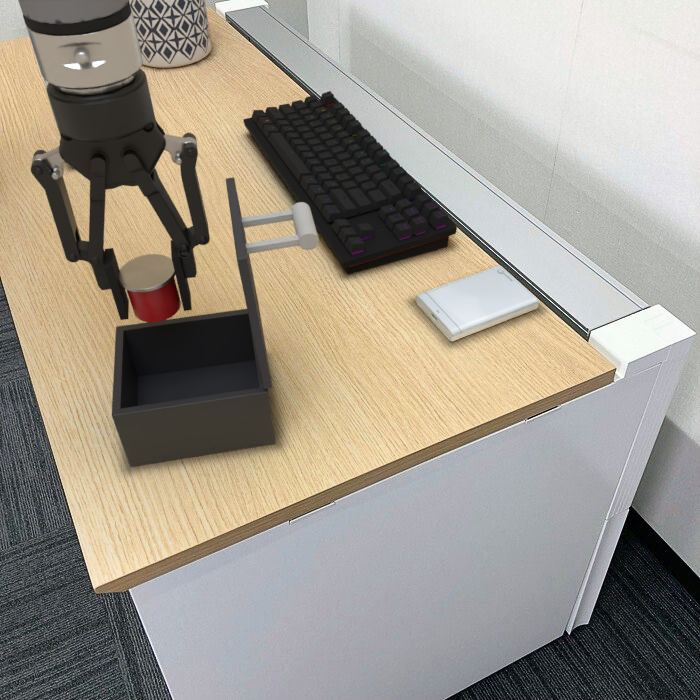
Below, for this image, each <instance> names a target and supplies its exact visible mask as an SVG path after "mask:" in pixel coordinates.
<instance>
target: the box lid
mask: <svg viewBox="0 0 700 700" xmlns="http://www.w3.org/2000/svg"><path fill="white" fill-rule="evenodd" d="M225 185H226V192H227V199H228V207H229V213H230V221H231V228H232V236H233V243H234V250H235V256H236V262H237V263H236V264H237V266H238V272H239V276H240V281H241V286H242V291H243V295H244V300H245V306H246V309H247V310H248V315H249V320H250V325H251V329H252V334H253V339H254V344H255V349H256V353H257V358H258V363H259V368H260V372H261V377H262V382H263V387H264V389H268V390H269V389H272V388H273V383H272V376H271V371H270V365H269V359H268V352H267V347H266V340H265V334H264V328H263V321H262V316H261V310H260V304H259V298H258V293H257V288H256V283H255V277H254V272H253V267H252V264H251V263H252V262H251V258H250V254H257V253H262V252H263V253H264V252H268V251H274V250H281V249H287V248H293V247H300V249H302V250H305V251H311V250H314V249H316V248H317V246H318V245H319V243H320V238H319V233H318V231H317V230H316V227H315V224H314V220H313V217H312V213H311V210H310V207H309V205H308V204H306V203H304V202H296V203H294V204H293V205H292V206H291V207H290V209H287V210H280V211H275V212H269V213H261V214H256V215H249V216H242V211H241V205H240V200H239V195H238V190H237V184H236V180H235V177H228V178H227V177H226V178H225ZM289 221H292V224H293V227H294V231H295V235H287V236H281V237H276V238H270V239H264V240H257V241H251V242H247V241H248V240H247V236H246V232H245V231H246V230H245V228H251V227H257V226H258V227H259V226H264V225H269V224H270V225H271V224H277V223H282V222H289Z"/></svg>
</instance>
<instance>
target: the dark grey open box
mask: <svg viewBox="0 0 700 700" xmlns="http://www.w3.org/2000/svg"><path fill="white" fill-rule="evenodd" d="M113 359H114V361H113V377H112V378H113V380H112V399H111V418H112V420H113V423H114V426H115V429H116V432H117V434H118V437H119V440H120V442H121V445H122V449H123V451H124V453H125V456H126V459H127V461H128V465H129V467H130V468H132V467H140V466H145V465H152V464H157V463H164V462H169V461H170V462H171V461H175V460H176V461H177V460H182V459H189V458H195V457H201V456H207V455H212V454H220V453H225V452H226V453H227V452H232V451H238V450H245V449H250V448H257V447H264V446H270V445H276V437H275V429H274V422H273V414H272V407H271V406H272V405H271V399H270V392H269V388H268V389H264V387H263V382H262V377H261V372H260V368H259V363H258V358H257V353H256V349H255V344H254V339H253V334H252V329H251V325H250V320H249V315H248V310H247V308H241V309H235V310H227V311H220V312H211V313H205V314H198V315H190V316H184V317H177V318H175V317H174V318H169V319H167V320H164V321H160V322H140V323H131V324H123V325H117V326H116V327H115V339H114V357H113Z"/></svg>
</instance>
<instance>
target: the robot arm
mask: <svg viewBox="0 0 700 700" xmlns="http://www.w3.org/2000/svg"><path fill="white" fill-rule="evenodd" d="M18 4H19V7H20V10H21V13H22V18H23V20H24V24H25V26H26V29H27V34H28V36H29V39H30V43H31V46H32V49H33V53H34V55H35V56H34V57H35V59H36V61H37V66H38V67H39V68H38V69H39V71H40V75H41V76H42V78H43V81H44V80H46V81H47V82H49V83H48V85H47V89H46V88H45V90H47V91H46V95H47V94H48V95H47V98H48V97H49V98H48V101H49V100H50V102H49V104H50V103H51V105H50V107H51V106H52V108H51V111H52V110H53V112H52V114H53V113H54V115H53V117H54V116H55V118H54V120H55V119H56V121H55V123H56V122H57V124H56V126H57V125H58V127H57V130H58V129H59V130H58V133H59V132H60V133H59V136H60V140H59V145H58V146H57V147H55V148H53V149H50V150H48V151H46V150H44V149H37V150H35V151H34V153H33V157H32V162H31V165H30V173H31V175H32V176H33V178H34V179H35V180H36V181H37V182H38V184H39V185H40V186H41V187H42V188H43V190H44V192H45V195H46V199H47V203H48V205H49V208H50V211H51V214H52V217H53V221H54V224H55V227H56V230H57V233H58V237H59V240H60V244H61V247H62V250H63V253H64V257H65V259H66V260H67V261H68V262H70V263H77V262H79V261H83V262H87V263H88V264H90V266H91V269H92V271H93V274H94V277H95V280H96V284H97V287H98V288H99V289H100V290H101V291H107V290H110V291H111V294H112V297H113V301H114V304H115V307H116V310H117V313H118V316H119V320H120V321H125V320H129V312H130V299H129V296H128V293H127V290H126V289H125V288H123V287H122V286H121V284H120V283H119V280H118V274H119V271H120V267H119V263H118V260H117V256H116V254H115V250H114V249H115V248H114V247H109V248H104V245H105V221H106V220H105V219H106V198H107V197H106V196H107V195H106V193H107V190H113V189H117V188H119V187H122V186H125V187H138V189H139V190H140V192H141V194H142V195H143V197H145V198H146V199H147V200H148V202H149V204H150V205H151V208H152V209H153V210H154V212H155V214H156V215H157V217H158V219H159V221H160V222H161V224H162V226H163V228H164V229H165V231H166V233H167V234H168V236H169V237H170V258H171V259H172V262H173V266H174V270H175V280H176V284H177V289H178V293H179V297H180V301H181V306H182V309H183V312H188V311H192V297H191V289H190V285H189V280H188V279H193V278H196V277H197V273H198V271H197V261H196V258H195V252H194V248H195V247H197V246H199V245H200V246H205V245H208V244H209V243H210V239H211V238H210V230H209V223H208V217H207V213H206V209H205V204H204V199H203V195H202V190H201V186H200V182H199V177H198V172H197V161H198V155H199V151H198V140H197V137H196V135H195V134H194V133H192V132H186V133H184V134H183V135H182V136H178V135H172V134H166V133H165V130H164V129H163V128H162V127H161V125H160V124H159V123H158V121H157V119H156V115H155V111H154V106H153V101H152V97H151V92H150V87H149V83H148V78H147V74H146V72H145V71H144V70H143V69H142V68H141V67H142V66H143V64H142V63H143V59H142V54H141V50H140V45H139V40H138V35H137V30H136V26H135V21H134V16H133V11H132V9H131V7H130V3H129V0H18ZM165 151H166V152H168V153H169V154H170V158H171V161H172V162H173V163H174V164H176V165H178V166H179V169H180V178H181V183H182V186H183V191H184V195H185V198H186V199H185V200H186V203H187V207H188V211H189V216H190V220H191V224H192V226H190V227H187V224H186V223H185V221H184V219H183V217H182V215H181V214H180V212H179V210H178V208H177V207H176V205H175V203H174V202H173V200H172V198H171V196H170V194H169V193H168V191H167V188H166V187H165V186H164V184H163V182H162V181H161V179H160V177H159V174H158V171H157V169H156V166H157V165H158V162H159V161H160V159H161V157H162V155H163V154H164V152H165ZM64 163H65V164H68V165H69V167H70V168H72V167H73V168H72V169H74V170H75V171H76V172H78V174H80V175H81V176H83V177H84V178H85V179H86V180H87V181H89V217H88V219H89V223H88V240H84V239H81V234H80V230H79V227H78V223H77V221H76V217H75V214H74V210H73V206H72V203H71V200H70V195H69V193H68V189H67V186H66V182H65V179H64V173H65V165H64Z"/></svg>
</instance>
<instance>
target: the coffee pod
mask: <svg viewBox="0 0 700 700" xmlns="http://www.w3.org/2000/svg"><path fill="white" fill-rule="evenodd" d="M119 270H120V271H119V274H118V280H119V283H120V284H121V286H122V287H123V288H125V290H126V293H127V297H128V300H129V303H130V304H131V308H132V312H133V313H134V316H135V317H136V319H138V320H140V321H142V322H143V323H146V322H160V321H164V320H168V319H172V317H174V316H175V315H176V314H177V313H178V312H179V310H180V309H181V306H182V300H181V296H180V292H179V288H178V285H177V281H176V275H175V270H174V266H173V262H172V258H171V257H170V256H167V255H164V254H160V253H150V254H149V253H148V254H143V255H140V256H139V255H138V256H137V257H134V258H132V259H130V260H128V261H127V262H126V263H124V264H123V265H122V266H121V268H119Z"/></svg>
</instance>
